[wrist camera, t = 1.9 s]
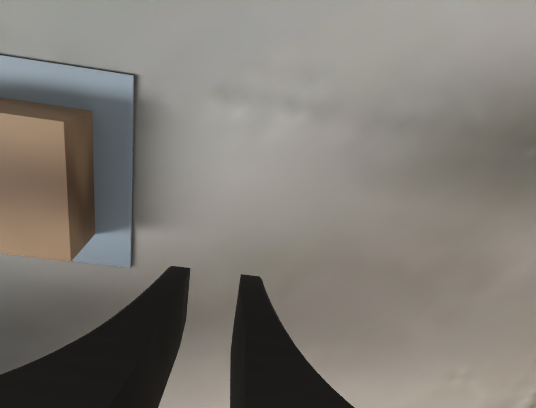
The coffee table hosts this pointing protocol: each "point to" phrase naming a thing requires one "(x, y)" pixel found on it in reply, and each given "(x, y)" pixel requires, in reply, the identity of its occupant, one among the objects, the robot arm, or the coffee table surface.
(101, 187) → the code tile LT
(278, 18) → the coffee table surface
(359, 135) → the coffee table surface
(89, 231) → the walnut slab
